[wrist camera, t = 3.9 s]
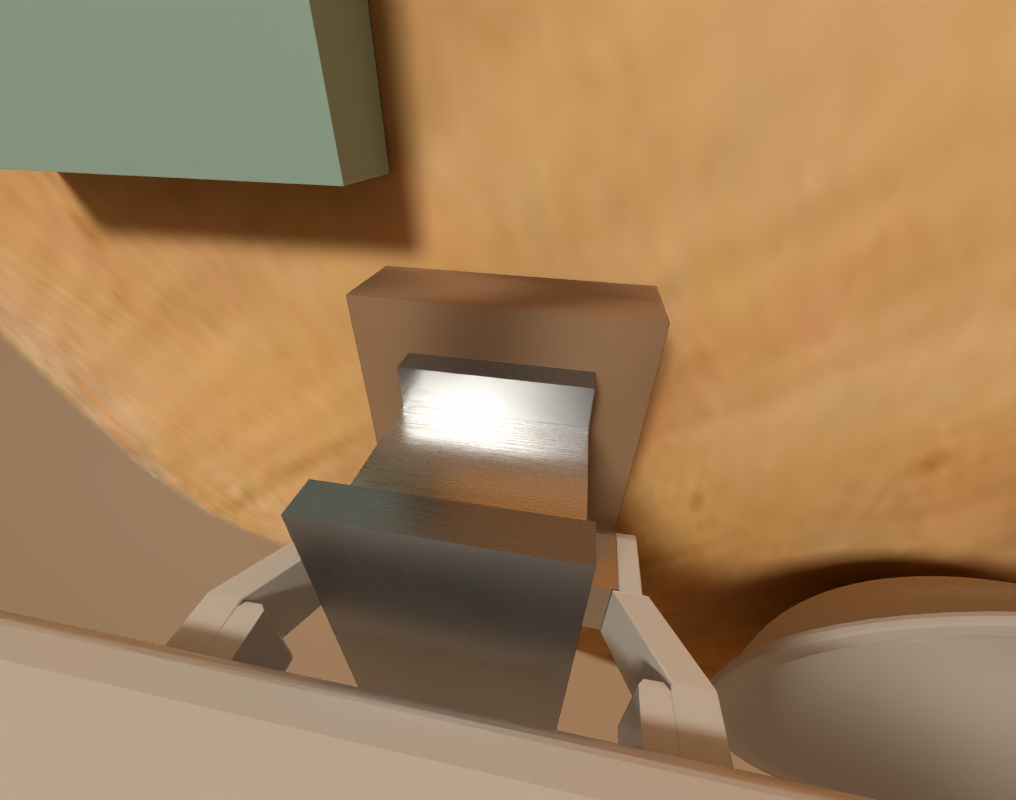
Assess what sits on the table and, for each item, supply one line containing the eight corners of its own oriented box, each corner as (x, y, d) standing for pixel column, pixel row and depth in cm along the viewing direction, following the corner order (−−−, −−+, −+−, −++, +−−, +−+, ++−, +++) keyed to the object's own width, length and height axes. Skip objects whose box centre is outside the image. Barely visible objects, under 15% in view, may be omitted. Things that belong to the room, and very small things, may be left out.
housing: (594, 371, 10) (596, 566, 6) (563, 558, 15) (551, 749, 10) (408, 352, 11) (280, 515, 7) (433, 537, 16) (368, 708, 11)
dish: (623, 617, 21) (630, 736, 17) (822, 406, 13) (931, 541, 9) (941, 719, 21) (1022, 859, 17) (1339, 579, 13) (1679, 787, 9)
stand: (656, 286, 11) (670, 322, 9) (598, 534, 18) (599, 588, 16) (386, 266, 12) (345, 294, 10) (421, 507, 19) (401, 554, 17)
